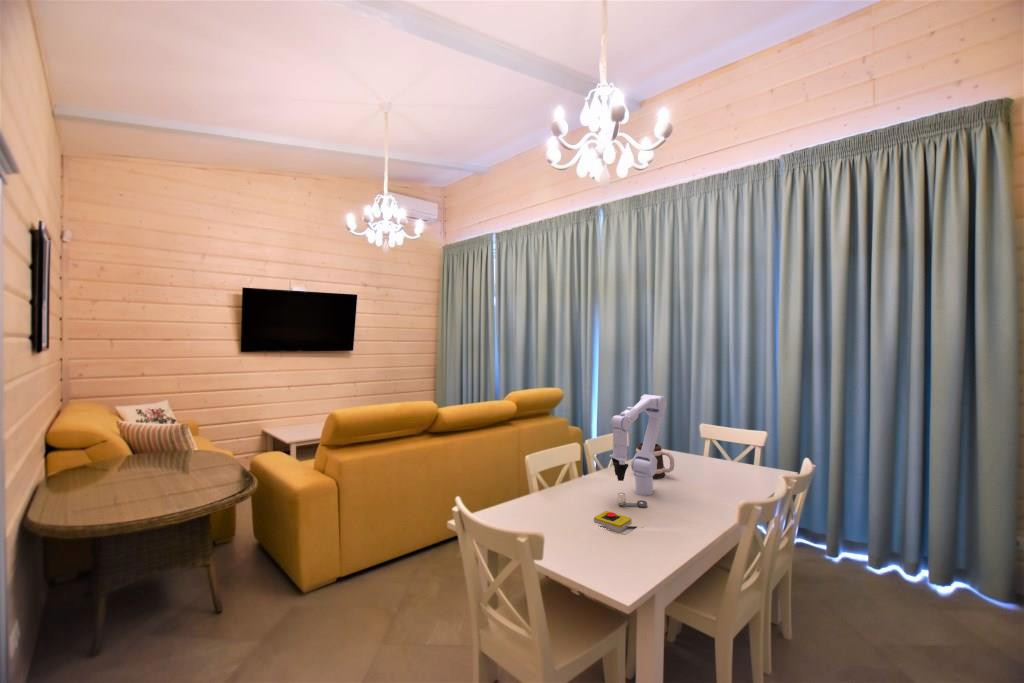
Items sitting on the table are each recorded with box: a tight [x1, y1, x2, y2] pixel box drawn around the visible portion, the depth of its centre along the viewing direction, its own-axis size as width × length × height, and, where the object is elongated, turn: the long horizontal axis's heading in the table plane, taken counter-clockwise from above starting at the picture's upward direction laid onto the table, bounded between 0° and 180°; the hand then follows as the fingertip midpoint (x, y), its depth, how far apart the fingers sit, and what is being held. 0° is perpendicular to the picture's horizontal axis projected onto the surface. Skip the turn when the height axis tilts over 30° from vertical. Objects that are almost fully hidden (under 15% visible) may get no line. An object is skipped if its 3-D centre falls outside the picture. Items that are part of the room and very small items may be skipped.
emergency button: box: [593, 510, 638, 536], centre depth 171 cm, size 9×4×15 cm
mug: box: [635, 442, 676, 480], centre depth 229 cm, size 20×15×15 cm
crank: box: [617, 492, 648, 509], centre depth 186 cm, size 12×4×5 cm, turn 85°
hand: (619, 477), depth 191 cm, fingers open, 7 cm apart
